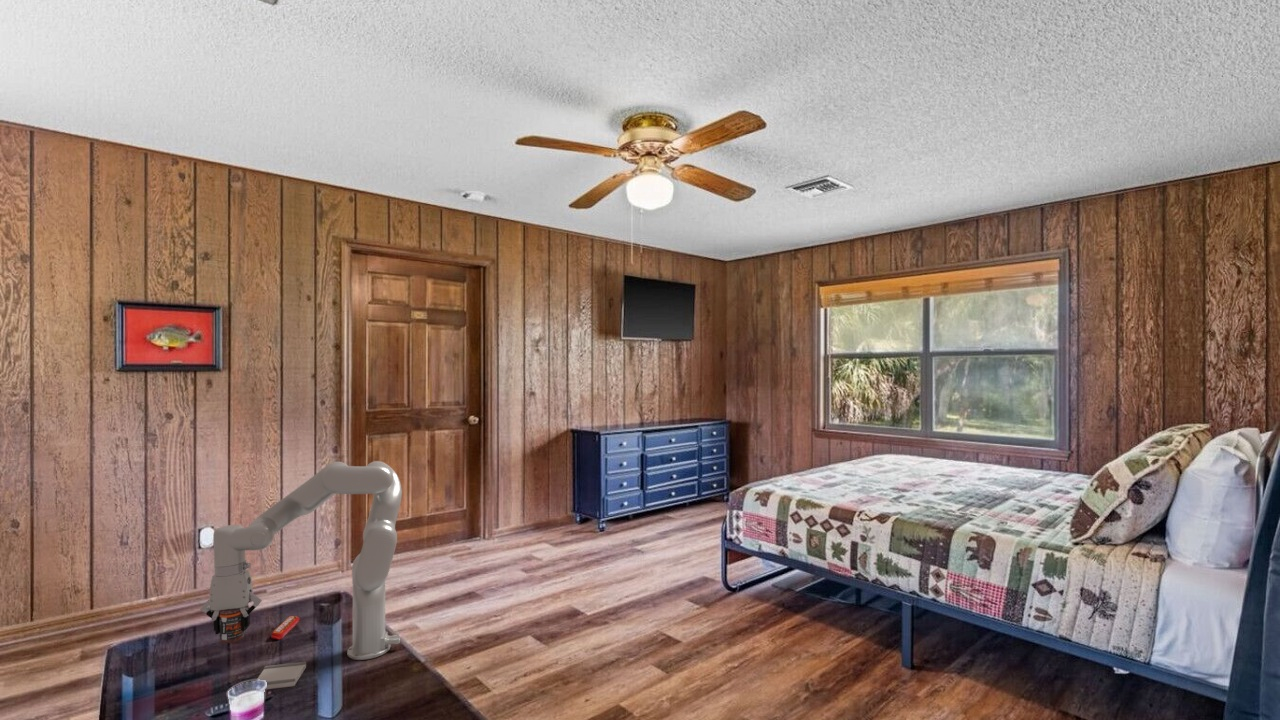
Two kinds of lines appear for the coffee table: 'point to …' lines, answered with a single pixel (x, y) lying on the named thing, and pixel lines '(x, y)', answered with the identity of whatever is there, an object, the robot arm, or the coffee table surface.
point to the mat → (282, 674)
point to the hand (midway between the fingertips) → (232, 630)
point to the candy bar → (285, 627)
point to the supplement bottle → (230, 625)
